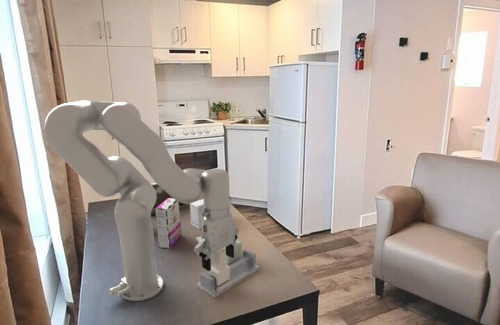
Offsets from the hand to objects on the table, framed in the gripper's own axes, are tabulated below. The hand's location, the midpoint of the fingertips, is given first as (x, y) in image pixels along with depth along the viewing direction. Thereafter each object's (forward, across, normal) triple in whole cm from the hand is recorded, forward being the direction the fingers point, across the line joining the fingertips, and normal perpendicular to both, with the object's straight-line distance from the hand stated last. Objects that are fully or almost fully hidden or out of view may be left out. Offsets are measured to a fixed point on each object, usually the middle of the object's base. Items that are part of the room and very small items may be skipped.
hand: (218, 262), depth 101 cm
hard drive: (+8, +15, +22) cm, 28 cm away
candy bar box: (+8, +6, +35) cm, 36 cm away
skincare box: (+8, +26, +38) cm, 46 cm away
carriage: (+6, 0, 0) cm, 6 cm away
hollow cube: (+8, +12, +8) cm, 16 cm away
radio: (+8, +24, +66) cm, 70 cm away
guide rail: (+8, +4, 0) cm, 9 cm away
